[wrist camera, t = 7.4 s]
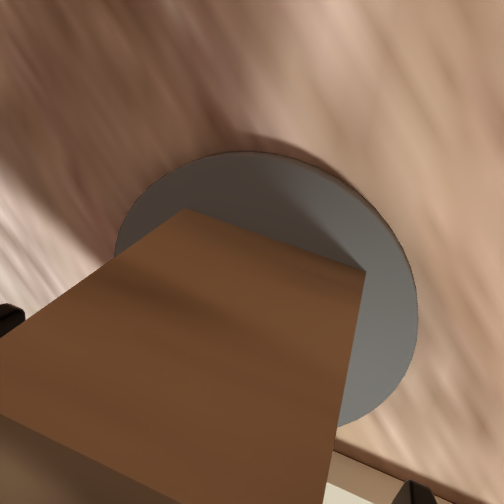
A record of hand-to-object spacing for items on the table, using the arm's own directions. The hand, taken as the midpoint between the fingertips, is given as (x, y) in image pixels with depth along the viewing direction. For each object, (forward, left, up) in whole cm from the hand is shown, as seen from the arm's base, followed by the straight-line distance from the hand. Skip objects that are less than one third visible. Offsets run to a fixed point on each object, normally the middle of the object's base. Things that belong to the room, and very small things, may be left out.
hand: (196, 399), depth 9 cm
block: (0, 0, -4) cm, 4 cm away
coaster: (0, 0, -4) cm, 4 cm away
